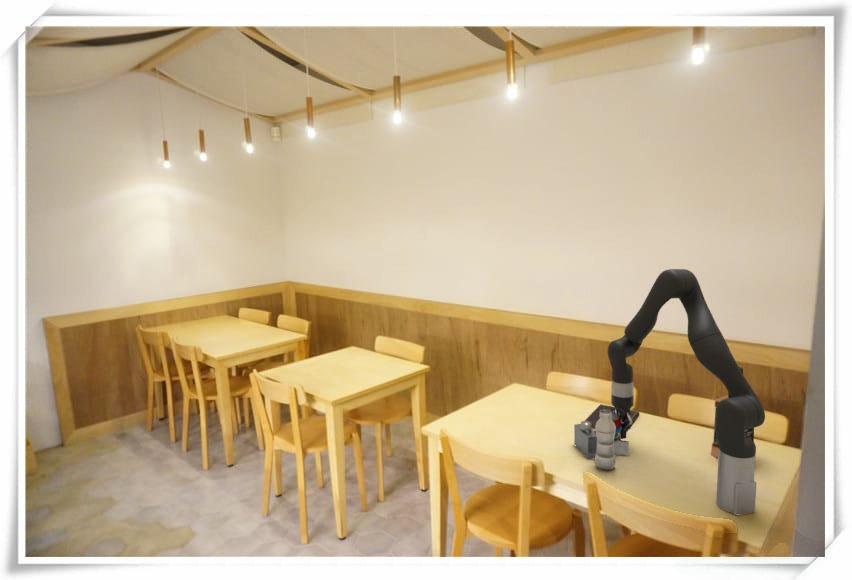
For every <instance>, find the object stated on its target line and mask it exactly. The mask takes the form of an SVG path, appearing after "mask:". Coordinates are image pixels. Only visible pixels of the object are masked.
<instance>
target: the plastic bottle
mask: <svg viewBox="0 0 852 580" xmlns="http://www.w3.org/2000/svg"><path fill="white" fill-rule="evenodd" d="M599 417H600V419H599V420H598V421H597V423H596V425H595V428H596V435H597V449H596V455H595V458H594V463H595V465H596V468H599V469H601V470H604V471H609V470H613V469H614V467H615V466H616V457H615V456H616V455H614V437H615V432H616V426H615V424H614V422H613V421H612V420H611V418H612V416H611V411H609V410H600V415H599Z"/></svg>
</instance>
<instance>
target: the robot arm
mask: <svg viewBox="0 0 852 580" xmlns="http://www.w3.org/2000/svg"><path fill="white" fill-rule="evenodd" d="M671 299H678V300H679V301H680V303H681V304H682V306H683V308H684V311H685V313H686V315H687V340H688V343H689V345H690V348H691V349H692V351H693V353H694V355H695V358H696V359H697V361H698V362H699V363H700V364H701V365H702V366H703V368H705V369H706V370H708V371H709V372H710V373H712V374H713V376H715V377H716V378H717V379H719V381H720V382H721V383H722V385H724V387H725V389H726V390H727V393H728V392H729V394H730V396H731V398H727V399H724V400H722V401H720V402H719V404H718V406H717V410H716V409H715V410H716V435H717V439H718V442H719V455H718V458H717V475H716V477H717V479H716V499H715V501H716V505H717V506H718V507H719V508H720V509H721V510H723V511H725V512H728V513H730V512H731V514H733V513H734V514H735V515H734V514H733V515H734V516H738V515H737V514H742V515H745V514H744V513H748V514H751V513H750V512H754V513H755V512H756V501H757V500H756V496H757V484H758V483H757V481H755V469H756V467H755V466H756V457H757V456H756V455H757V445H756V443H755V442H753V441H751V440H750V439H748V438H745V430H746V429H750V428H754V429H755V428H757V427H760V426H762V425H763V424H764V422H765V420H766V413H765V409H764V406H763V405H762V402H761V401H760V399H759V397H758V395H757V394H756V393H755V391H754V390H753V388H752V386H751V384H750V383H749V381H747V379H746V377H745V376H744V373H743V374H742V372H741V370H740V368H739V367H740V366H739V365H738V362H737V361H736V359H735V358H734V355H733V354H732V352H731V350H730V347H729V345H728V343H727V341H726V339H725V337H724V335H723V334H722V332H721V330H720V328H719V326H718V324H717V323H716V320H715V318H714V316H713V314H712V312H711V310H710V309H709V306H708V304H707V302H706V298H705V296H704V294H703V291H702V288H701V286H700V283H699V281H698V278H697V277H696V275H695V274H694V273H693V272H692V271H690V270H689V269H684V268H670V269H665V270H663V271H662V272H660V274H659V275H658V276H657V278H656V279H655V281H654V283H653V285H652V286H651V288H650V290H649V293H648V294H647V296H646V298H645V299H644V301H643V303H642V304H641V307H640V308H639V310H638V311H637V312H636V314H635V315H634V316H633V318H632V319H631V320H630V321H629V323H628V324H627V325H626V327H625V328H624V335H623V336H622V337H620V338H617V339H614V340H612V341H611V342H609V345H608V346H607V357H608V361H609V365H610V367H611V390H610V391H611V392H610V393H611V395H610V396H611V399H610V401H611V402H610V403H611V406H612V407H614V408H611V411H612V413H613V414H616V415H618V416H619V419H620V421H621V440H623V439H624V440H626V439H627V432H626V430H627V429H628V430H630V429H631V428H632V427H633V425H634V424H635V422H636V420H635V421H634V419H631V417H630V415H631V412H630V410H631V408H632V407H633V406H634V399H635V398H634V396H635V394H634V393H635V391H634V390H635V388H634V367H633V366H632V364H629V363H627V358H629V357H632V356H633V355H635V354H636V353H637V352H638V350H639V349H640V347H641V345H642V344H643V342H644V340H645V339H646V338H647V336H648V335H649V334H650V333H651V331H653V329H654V327H655V326H656V325H657V321H658V317H659V313H660V312H661V309H662V308H663V306H664V305H665V304H667V302H669V301H670V300H671Z"/></svg>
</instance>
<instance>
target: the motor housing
mask: <svg viewBox="0 0 852 580" xmlns="http://www.w3.org/2000/svg"><path fill="white" fill-rule="evenodd" d="M573 440H574V444H575V445H576V446H575V445H574V446H575V447H576V448H577V449H578V450H579V451H580V452H581V453H582V455H584V457H585V458H586V457H587V458H588V459H587V458H586V459H587V460H590V459H595V455H596V449H597V435H596V430H592V423H591V422H590V421H585V420H582V421H581V422H580V423H576V424H574V439H573ZM629 448H630V441H629V440H623V439H621V440H616V441H614V455H615V456H619V455H620V456H629V454H630V453H629V451H630V449H629Z"/></svg>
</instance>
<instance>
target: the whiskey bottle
mask: <svg viewBox="0 0 852 580" xmlns="http://www.w3.org/2000/svg"><path fill="white" fill-rule="evenodd" d="M739 368H740V370H741V372H742V374H743V375H744V368H742V367H741V366H739ZM727 398H731V396H730V394H729V392H728V391H727V394H726V395H724V396H721V397H719V398H716V399H714V407H715V412H714V427H713V441H712V443H711V447H710V448H711V449H710V455H711V456H713V457H715V458H717V459H718V455H719V442H718V439H717V435H716V410H717V406H718V404H719V402H720V401H722V400H724V399H727ZM745 438H748V439H750V440H751V441H753V442H754V440H755V439H754V438H755V427H754V428H750V429H746V430H745ZM754 443H755V442H754Z"/></svg>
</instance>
